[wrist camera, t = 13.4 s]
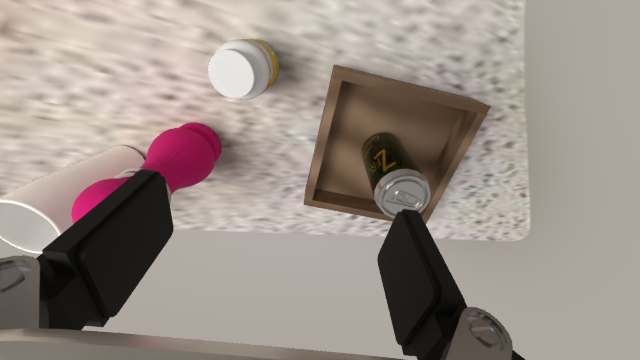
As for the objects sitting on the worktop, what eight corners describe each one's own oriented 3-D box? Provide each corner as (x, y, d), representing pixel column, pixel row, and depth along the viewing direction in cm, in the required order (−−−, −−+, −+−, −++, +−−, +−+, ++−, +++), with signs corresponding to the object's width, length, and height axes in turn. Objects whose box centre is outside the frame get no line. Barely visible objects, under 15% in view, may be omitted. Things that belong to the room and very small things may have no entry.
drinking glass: (97, 161, 37) (-27, 228, 24) (116, 129, 35) (-9, 185, 22) (141, 189, 39) (50, 264, 26) (162, 161, 37) (73, 229, 24)
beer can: (408, 139, 34) (444, 185, 23) (388, 172, 36) (413, 227, 26) (372, 124, 33) (393, 165, 22) (354, 159, 35) (365, 210, 25)
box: (333, 64, 30) (335, 68, 27) (472, 98, 32) (490, 106, 28) (305, 189, 39) (303, 204, 35) (415, 211, 41) (424, 227, 37)
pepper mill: (235, 153, 36) (152, 262, 19) (197, 174, 38) (89, 292, 20) (201, 108, 33) (63, 189, 16) (161, 134, 35) (-2, 231, 17)
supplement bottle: (240, 90, 32) (210, 109, 23) (229, 41, 29) (190, 43, 21) (282, 86, 31) (267, 104, 23) (275, 36, 29) (254, 36, 20)
